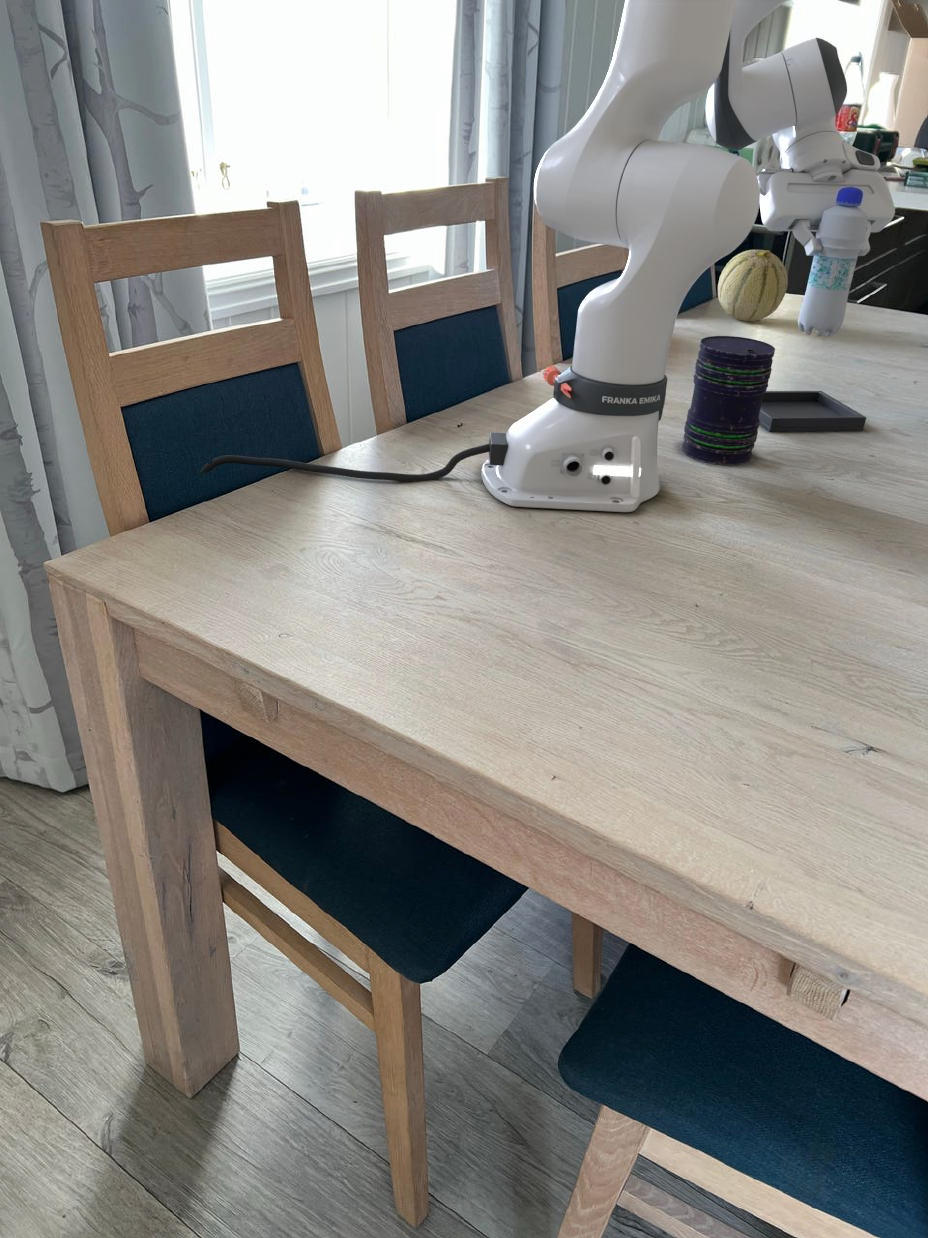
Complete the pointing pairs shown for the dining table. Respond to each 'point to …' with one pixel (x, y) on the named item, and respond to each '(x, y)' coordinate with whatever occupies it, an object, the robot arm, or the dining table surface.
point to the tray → (807, 412)
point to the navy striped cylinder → (727, 399)
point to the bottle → (834, 264)
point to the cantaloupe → (752, 285)
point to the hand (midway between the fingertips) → (839, 253)
